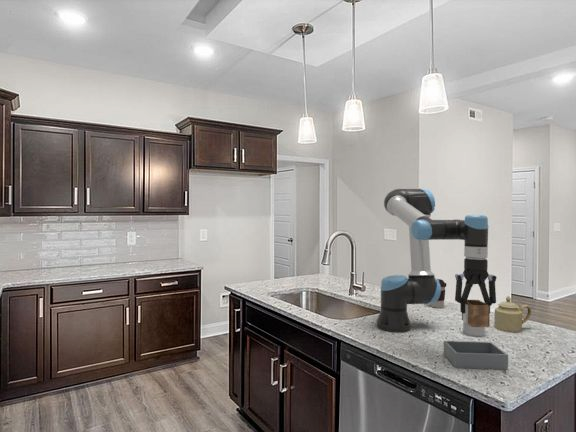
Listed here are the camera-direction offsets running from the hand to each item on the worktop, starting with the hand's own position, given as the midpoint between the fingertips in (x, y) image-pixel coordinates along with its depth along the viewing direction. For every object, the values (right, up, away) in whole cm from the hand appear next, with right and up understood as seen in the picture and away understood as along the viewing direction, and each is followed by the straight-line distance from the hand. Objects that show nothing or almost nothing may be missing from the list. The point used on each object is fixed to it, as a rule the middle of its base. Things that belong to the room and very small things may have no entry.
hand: (475, 322), depth 137 cm
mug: (+16, -14, +32) cm, 38 cm away
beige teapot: (+36, -14, +39) cm, 55 cm away
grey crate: (0, -14, +1) cm, 14 cm away
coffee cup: (+16, -13, +76) cm, 79 cm away
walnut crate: (0, 0, 0) cm, 0 cm away
